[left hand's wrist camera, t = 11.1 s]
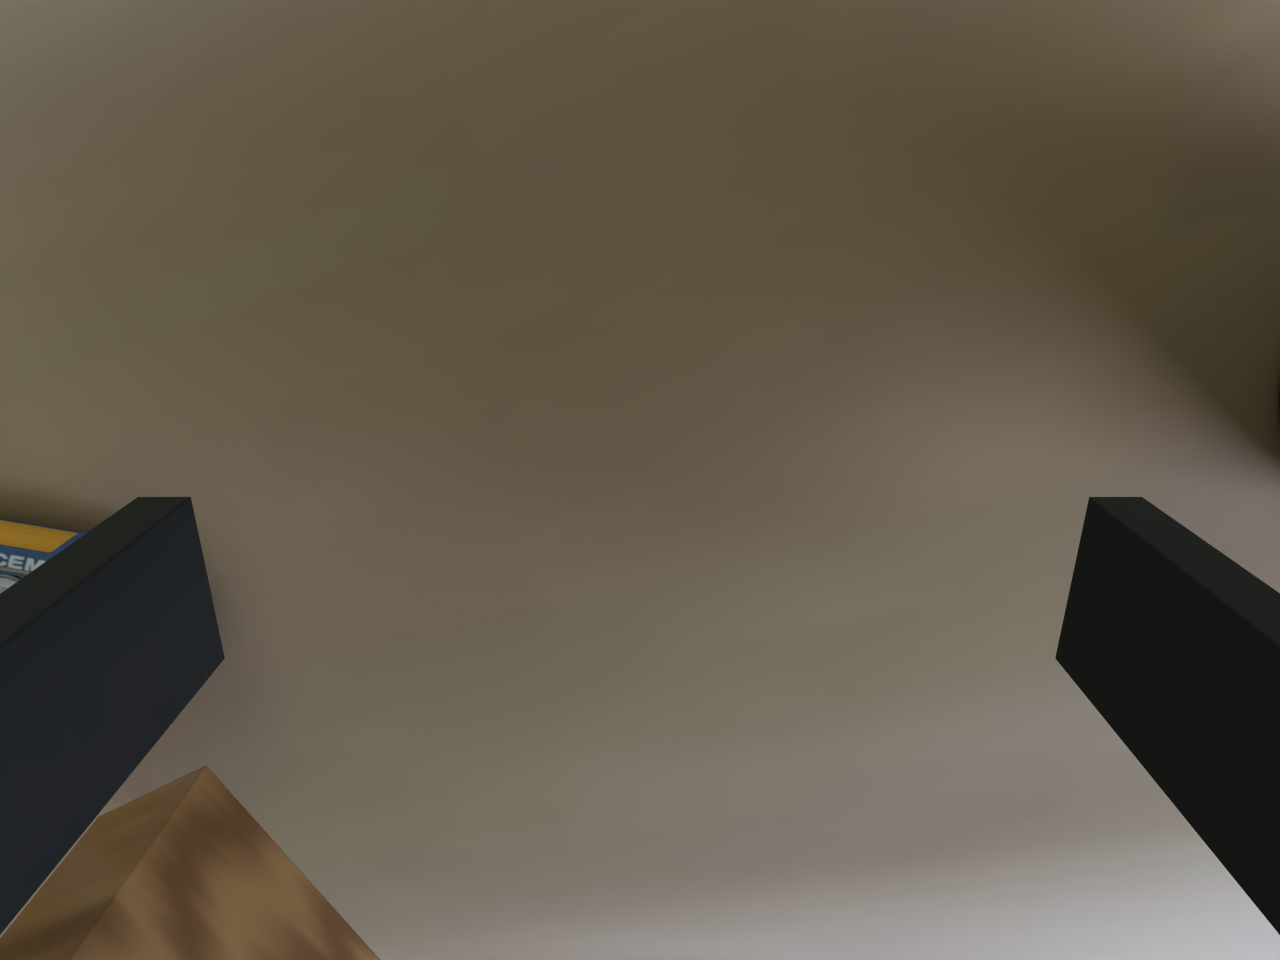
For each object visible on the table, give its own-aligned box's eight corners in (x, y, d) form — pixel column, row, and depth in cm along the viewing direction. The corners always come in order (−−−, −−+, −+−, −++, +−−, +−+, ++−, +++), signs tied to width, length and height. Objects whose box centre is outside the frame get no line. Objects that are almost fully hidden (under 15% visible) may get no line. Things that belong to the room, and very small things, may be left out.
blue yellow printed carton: (220, 762, 50) (221, 533, 45) (182, 814, 46) (178, 569, 41) (-140, 706, 49) (-181, 466, 44) (-210, 753, 45) (-264, 496, 40)
